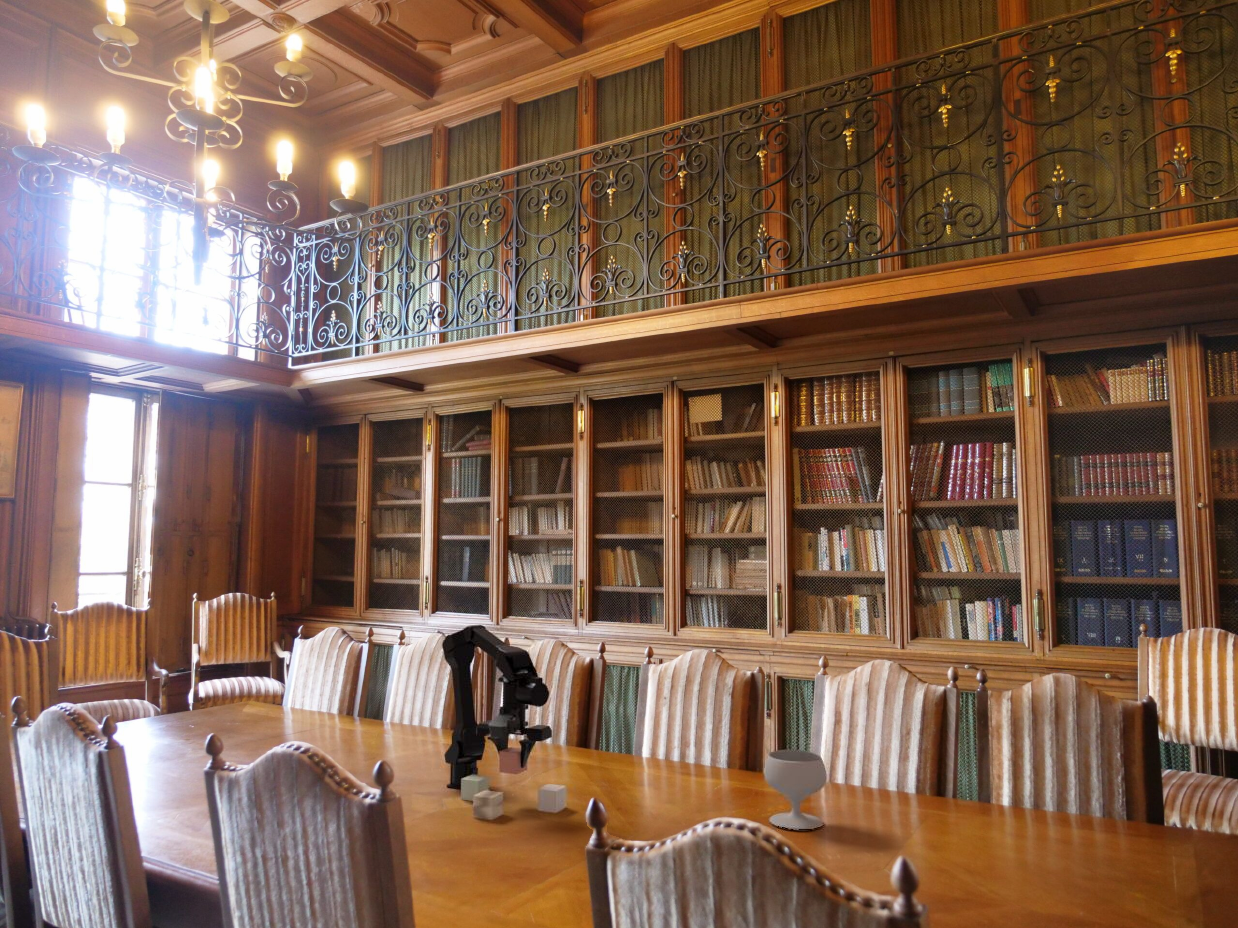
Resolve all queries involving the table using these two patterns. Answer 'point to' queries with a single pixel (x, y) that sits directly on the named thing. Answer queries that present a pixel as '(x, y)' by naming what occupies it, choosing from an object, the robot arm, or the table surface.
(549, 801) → the pale grey block
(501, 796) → the ash block
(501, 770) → the brick-red block
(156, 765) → the table surface
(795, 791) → the chalice
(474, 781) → the sage green block
